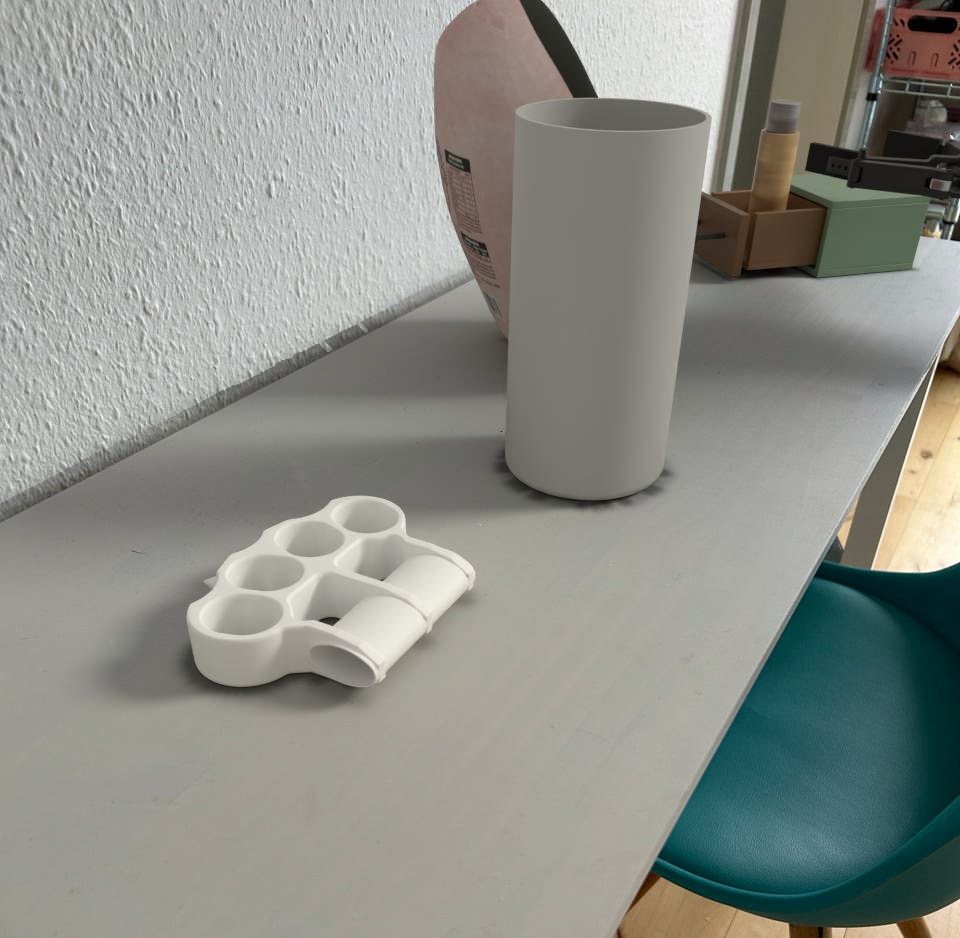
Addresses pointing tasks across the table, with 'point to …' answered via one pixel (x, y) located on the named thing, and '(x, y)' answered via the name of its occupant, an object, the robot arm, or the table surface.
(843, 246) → the cabinet
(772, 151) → the salt mill
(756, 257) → the drawer
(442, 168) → the packaged food
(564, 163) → the cylinder vase
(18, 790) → the table surface
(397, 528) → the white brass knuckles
